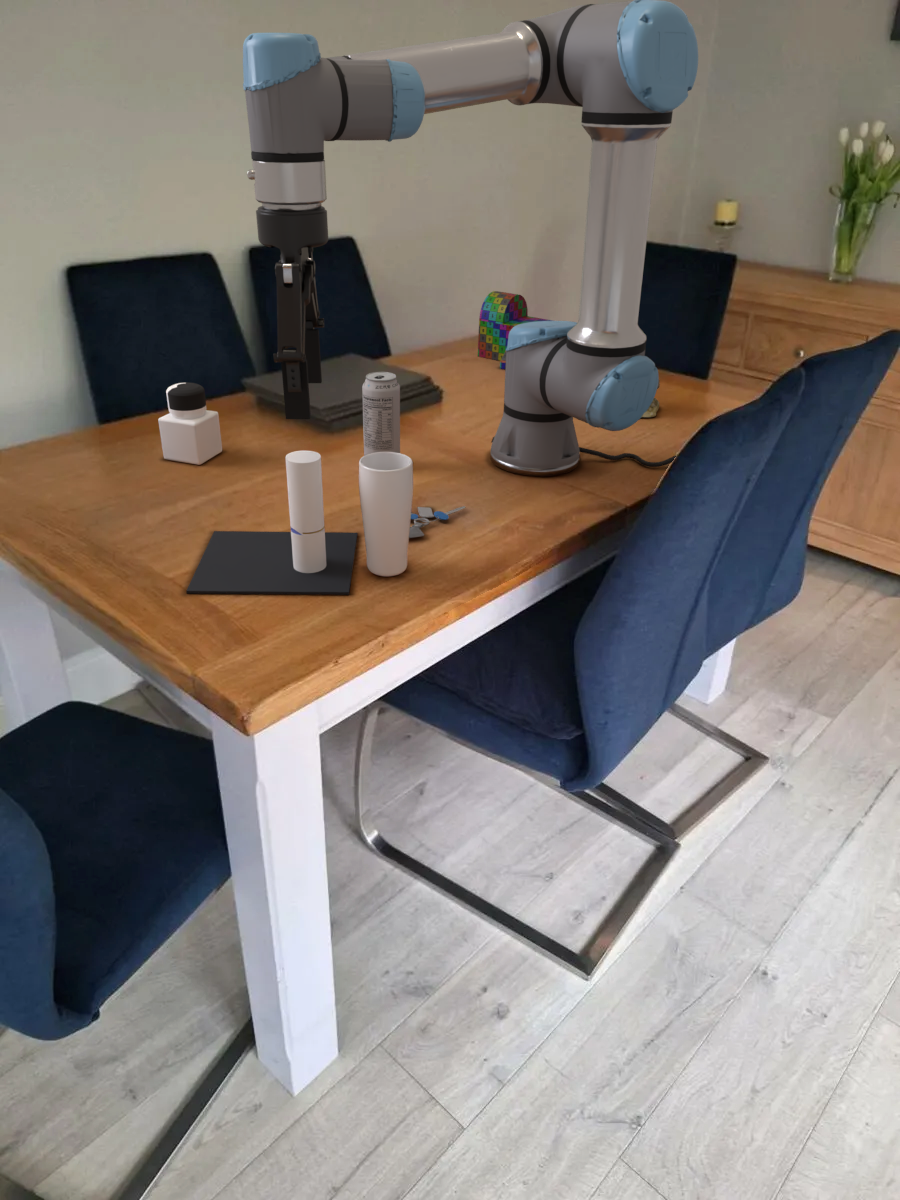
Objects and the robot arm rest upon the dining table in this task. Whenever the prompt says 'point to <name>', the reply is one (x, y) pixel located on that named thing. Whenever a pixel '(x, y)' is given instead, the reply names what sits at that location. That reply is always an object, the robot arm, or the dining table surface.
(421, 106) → the robot arm
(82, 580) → the dining table surface
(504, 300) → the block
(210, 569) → the charcoal mat
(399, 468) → the drinking glass
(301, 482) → the tube
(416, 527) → the key chain
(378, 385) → the energy drink can
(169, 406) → the medicine bottle
